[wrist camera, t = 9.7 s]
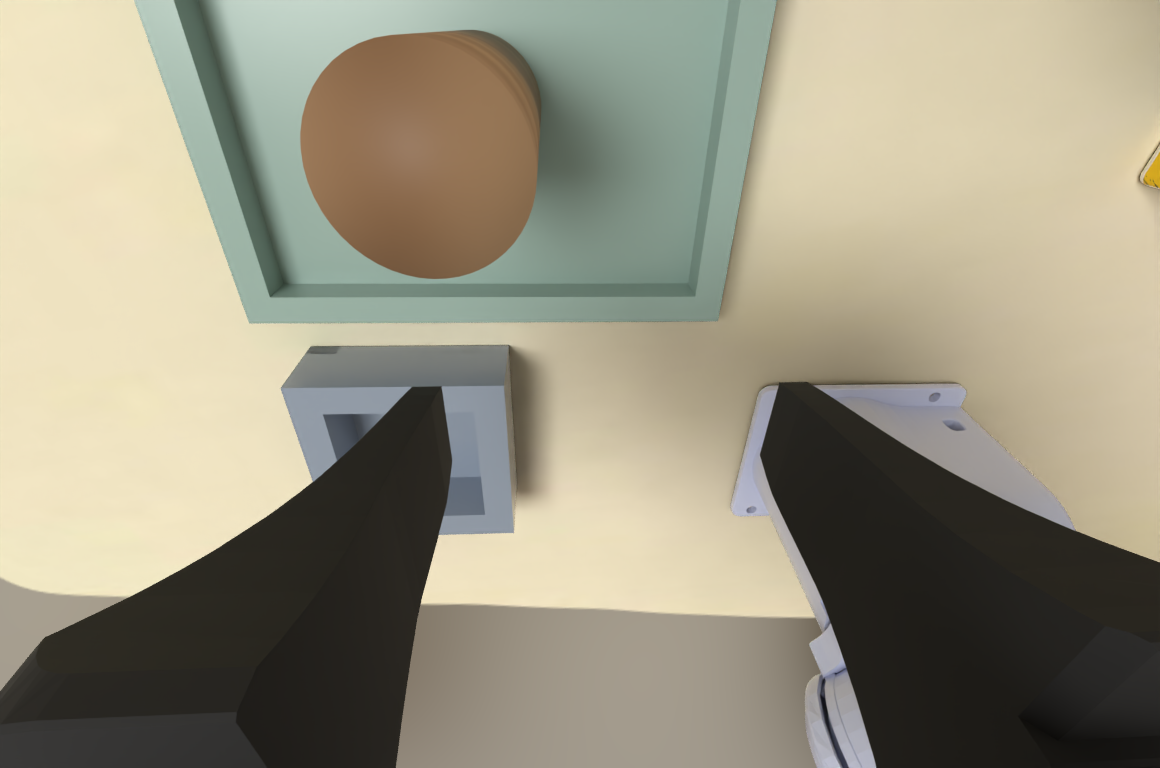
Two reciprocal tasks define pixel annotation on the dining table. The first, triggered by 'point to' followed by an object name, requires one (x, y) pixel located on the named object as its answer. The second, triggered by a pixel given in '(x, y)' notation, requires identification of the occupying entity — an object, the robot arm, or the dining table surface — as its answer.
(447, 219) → the dowel
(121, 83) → the dining table surface
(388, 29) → the tray
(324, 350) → the grey square recessed block
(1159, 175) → the medicine bottle
